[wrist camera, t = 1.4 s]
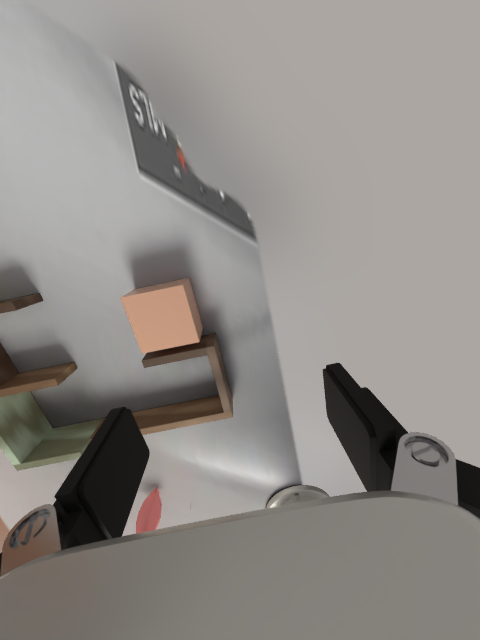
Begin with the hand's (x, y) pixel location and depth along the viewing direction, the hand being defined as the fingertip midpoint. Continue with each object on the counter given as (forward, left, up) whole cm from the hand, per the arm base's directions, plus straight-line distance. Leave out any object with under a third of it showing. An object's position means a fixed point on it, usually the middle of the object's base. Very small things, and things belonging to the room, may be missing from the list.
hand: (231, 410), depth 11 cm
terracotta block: (0, +8, -21) cm, 22 cm away
